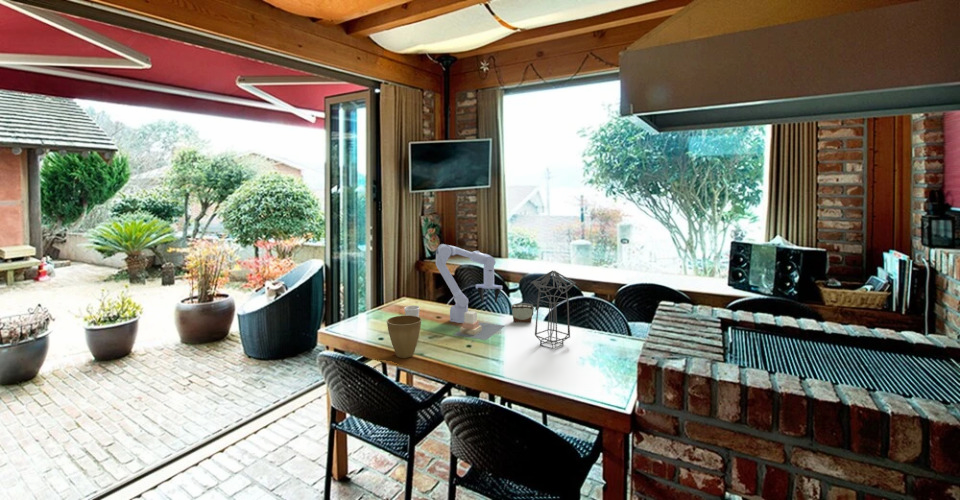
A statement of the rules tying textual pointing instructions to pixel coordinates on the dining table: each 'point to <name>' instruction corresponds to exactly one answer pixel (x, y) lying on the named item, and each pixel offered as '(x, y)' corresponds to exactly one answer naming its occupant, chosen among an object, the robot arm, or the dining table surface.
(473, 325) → the middle block
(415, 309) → the dixie cup
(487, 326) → the mat
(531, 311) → the food container
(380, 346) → the dining table surface
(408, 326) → the plant pot
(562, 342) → the geometric lantern
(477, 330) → the bottom slab
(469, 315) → the top block
